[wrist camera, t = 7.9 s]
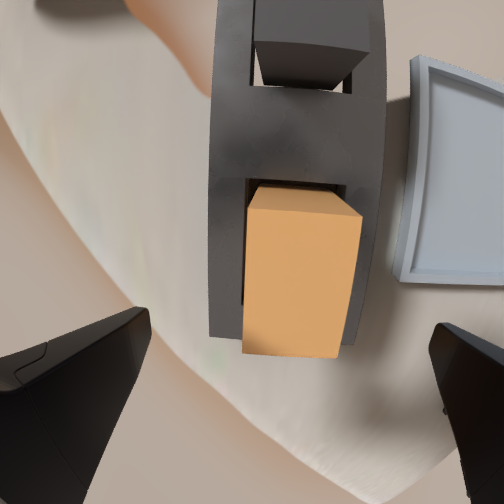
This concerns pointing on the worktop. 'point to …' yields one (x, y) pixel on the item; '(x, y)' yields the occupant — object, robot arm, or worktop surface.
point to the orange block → (298, 271)
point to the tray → (453, 179)
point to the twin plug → (310, 41)
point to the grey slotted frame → (287, 153)
